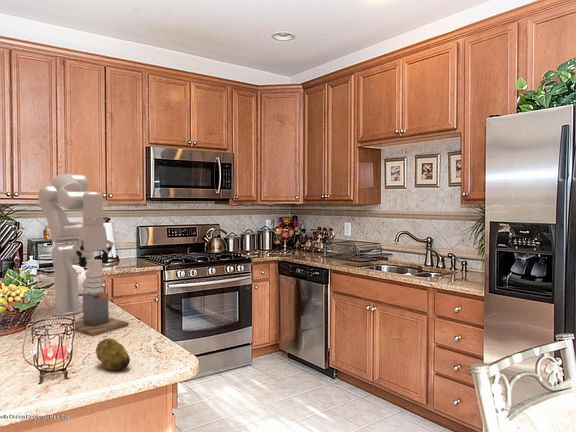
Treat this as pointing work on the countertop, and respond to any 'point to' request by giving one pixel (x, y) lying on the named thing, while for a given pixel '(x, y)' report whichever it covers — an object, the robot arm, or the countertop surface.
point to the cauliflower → (80, 278)
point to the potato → (112, 354)
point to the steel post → (94, 277)
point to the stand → (97, 316)
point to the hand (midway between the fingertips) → (94, 265)
